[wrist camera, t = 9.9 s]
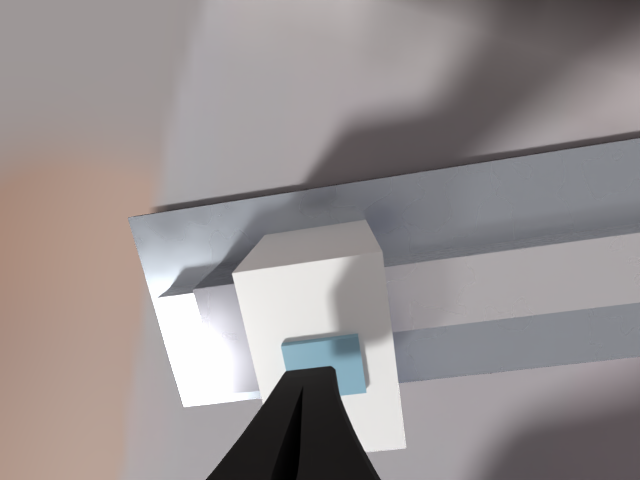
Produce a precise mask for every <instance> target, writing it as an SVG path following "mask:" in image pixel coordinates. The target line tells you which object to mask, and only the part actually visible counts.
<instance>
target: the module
mask: <svg viewBox="0 0 640 480" xmlns="http://www.w3.org/2000/svg"><path fill="white" fill-rule="evenodd" d="M232 276H233V280H234V284H235V288H236V293H237V297H238V301H239V305H240V309H241V314H242V318H243V322H244V326H245V331H246V335H247V339H248V343H249V347H250V352H251V356H252V360H253V364H254V369H255V373H256V377H257V381H258V385H259V390H260V394H261V398H262V402H263V404H264V402H265V401H266V400H267V398H268V397H269V395H270V394H271V392H272V390H273V389H274V387H275V386H276V384H277V383H278V381H279V380H280V378H281V377H282V375H283V374H284V373H285V372H286V371H290V370H298V369H307V368H316V367H324V366H332V367H333V368H334V369H336V375H337V381H338V387H339V393H340V396H341V399H342V402H343V405H344V407H345V410H346V412H347V415H348V417H349V419H350V422H351V424H352V426H353V429H354V431H355V433H356V435H357V437H358V439H359V441H360V443H361V445H362V447H363V449H364V451H365V452H373V451H383V450H394V449H404V448H406V442H405V433H404V425H403V417H402V408H401V400H400V392H399V384H398V375H397V367H396V359H395V351H394V342H393V334H392V326H391V318H390V309H389V301H388V293H387V285H386V276H385V268H384V260H383V252H382V250H381V248H380V246H379V244H378V242H377V240H376V238H375V236H374V234H373V232H372V230H371V229H370V227H369V225H368V223H367V221H366V220H360V221H353V222H347V223H340V224H333V225H327V226H320V227H314V228H307V229H300V230H294V231H287V232H280V233H274V234H267V235H264V236H263V238H262V239H261V240H260V241H259V242H258V243H257V245H256V246H255V247H254V248H253V249H252V250H251V252H250V253H249V254H248V255H247V256H246V257H245V259H244V260H243V261H242V262H241V263H240V264H239V265H238V267H237V268H236V269H235V270H234V271H233V272H232Z"/></svg>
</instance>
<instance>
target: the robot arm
mask: <svg viewBox="0 0 640 480" xmlns="http://www.w3.org/2000/svg"><path fill="white" fill-rule="evenodd" d="M206 480H381V479H380V478H379V476H378V474H377V473H376V471H375V469H374V467H373V465H372V464H371V462H370V460H369V458H368V456H367V454H366V453H365V451H364V449H363V447H362V445H361V443H360V441H359V439H358V437H357V435H356V433H355V431H354V429H353V426H352V424H351V422H350V419H349V417H348V415H347V412H346V410H345V407H344V405H343V402H342V399H341V396H340V393H339V387H338V381H337V375H336V369H334V368H333V367H332V366H324V367H316V368H307V369H298V370H290V371H286V372H285V373H284V374H283V375H282V377H281V378H280V380H279V381H278V383H277V384H276V386H275V387H274V389H273V390H272V392H271V394H270V395H269V397H268V398H267V400H266V401H265V402H264V404H263V405H262V407H261V408H260V410H259V411H258V413H257V414H256V415H255V417H254V418H253V420H252V421H251V422H250V424H249V425H248V427H247V428H246V430H245V431H244V432H243V434H242V435H241V436H240V438H239V439H238V440H237V442H236V443H235V444H234V445H233V447H232V448H231V449H230V450H229V452H228V453H227V454H226V456H225V457H224V458H223V459H222V461H221V462H220V463H219V464H218V466H217V467H216V468H215V469H214V471H213V472H212V473H211V474H210V475H209V476H208V478H207V479H206Z"/></svg>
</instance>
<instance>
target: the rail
mask: <svg viewBox="0 0 640 480" xmlns="http://www.w3.org/2000/svg"><path fill="white" fill-rule="evenodd" d="M128 220H129V223H130V227H131V230H132V234H133V237H134V240H135V244H136V247H137V250H138V254H139V257H140V260H141V264H142V267H143V270H144V274H145V277H146V281H147V284H148V287H149V291H150V294H151V297H152V301H153V304H154V307H155V311H156V314H157V317H158V321H159V324H160V327H161V331H162V334H163V337H164V341H165V344H166V347H167V351H168V354H169V357H170V361H171V364H172V367H173V371H174V374H175V377H176V381H177V384H178V387H179V391H180V394H181V398H182V401H183V404H184V407H185V406H194V405H203V404H212V403H222V402H231V401H240V400H249V399H258V398H261V394H260V390H259V385H258V381H257V377H256V373H255V369H254V364H253V360H252V356H251V352H250V347H249V343H248V339H247V335H246V331H245V326H244V322H243V318H242V314H241V309H240V305H239V301H238V297H237V293H236V288H235V284H234V280H233V276H232V272H233V271H234V270H235V269H236V268H237V267H238V265H239V264H240V263H241V262H242V261H243V260H244V259H245V257H246V256H247V255H248V254H249V253H250V252H251V250H252V249H253V248H254V247H255V246H256V245H257V243H258V242H259V241H260V240H261V239H262V238H263V236H264V235H267V234H274V233H280V232H287V231H294V230H300V229H307V228H314V227H320V226H327V225H333V224H340V223H347V222H353V221H360V220H366V221H367V223H368V225H369V227H370V229H371V230H372V232H373V234H374V236H375V238H376V240H377V242H378V244H379V246H380V248H381V250H382V252H383V260H384V268H385V276H386V285H387V293H388V301H389V309H390V318H391V326H392V334H393V342H394V351H395V359H396V367H397V375H398V383H404V382H413V381H422V380H431V379H440V378H449V377H458V376H467V375H477V374H486V373H495V372H504V371H513V370H522V369H531V368H540V367H549V366H559V365H568V364H577V363H586V362H595V361H604V360H613V359H622V358H631V357H640V138H635V139H628V140H622V141H615V142H609V143H602V144H596V145H590V146H583V147H577V148H570V149H564V150H557V151H551V152H545V153H538V154H532V155H525V156H519V157H512V158H506V159H500V160H493V161H487V162H480V163H474V164H467V165H461V166H455V167H448V168H442V169H435V170H429V171H422V172H416V173H409V174H403V175H397V176H390V177H384V178H377V179H371V180H364V181H358V182H352V183H345V184H339V185H332V186H326V187H319V188H313V189H307V190H300V191H294V192H287V193H281V194H274V195H268V196H262V197H255V198H249V199H242V200H236V201H229V202H223V203H216V204H210V205H204V206H197V207H191V208H184V209H178V210H171V211H165V212H159V213H152V214H146V215H140V216H133V217H129V218H128Z"/></svg>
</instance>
